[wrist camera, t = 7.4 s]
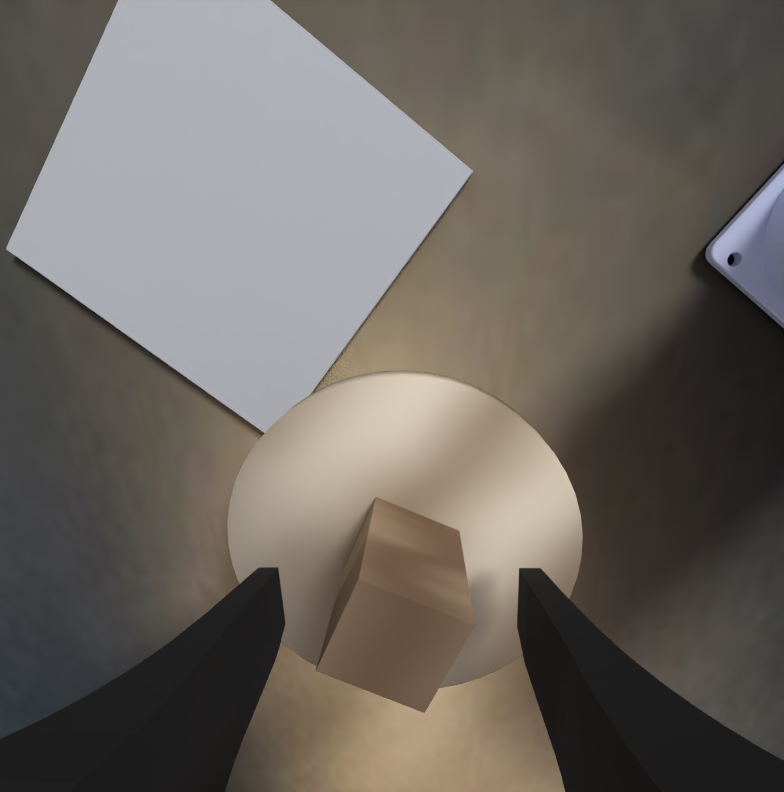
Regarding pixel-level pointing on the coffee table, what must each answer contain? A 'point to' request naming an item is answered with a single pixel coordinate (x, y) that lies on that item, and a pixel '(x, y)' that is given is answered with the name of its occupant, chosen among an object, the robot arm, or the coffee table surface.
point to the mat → (232, 197)
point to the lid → (403, 529)
